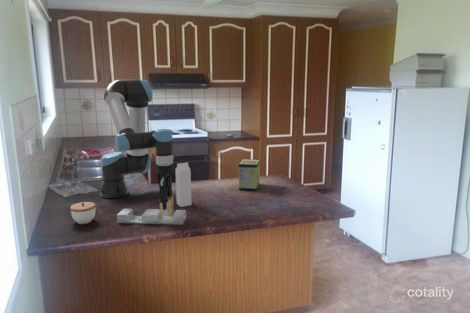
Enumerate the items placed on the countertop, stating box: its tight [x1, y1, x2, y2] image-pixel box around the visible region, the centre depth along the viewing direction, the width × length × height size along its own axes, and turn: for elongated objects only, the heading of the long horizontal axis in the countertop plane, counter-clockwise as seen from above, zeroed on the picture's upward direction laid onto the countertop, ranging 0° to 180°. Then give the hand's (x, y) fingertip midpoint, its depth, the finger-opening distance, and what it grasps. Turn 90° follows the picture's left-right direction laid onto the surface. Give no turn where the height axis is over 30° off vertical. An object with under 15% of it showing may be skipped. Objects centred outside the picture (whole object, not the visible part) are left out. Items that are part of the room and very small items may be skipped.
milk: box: [174, 162, 193, 208], centre depth 195 cm, size 6×6×22 cm
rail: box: [116, 208, 187, 225], centre depth 175 cm, size 30×8×4 cm, turn 86°
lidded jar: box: [69, 201, 97, 225], centre depth 174 cm, size 11×11×9 cm
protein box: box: [238, 158, 261, 192], centre depth 226 cm, size 10×16×16 cm
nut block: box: [159, 195, 175, 216], centre depth 173 cm, size 5×5×8 cm
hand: (167, 213), depth 174 cm, fingers closed on nut block, 5 cm apart
